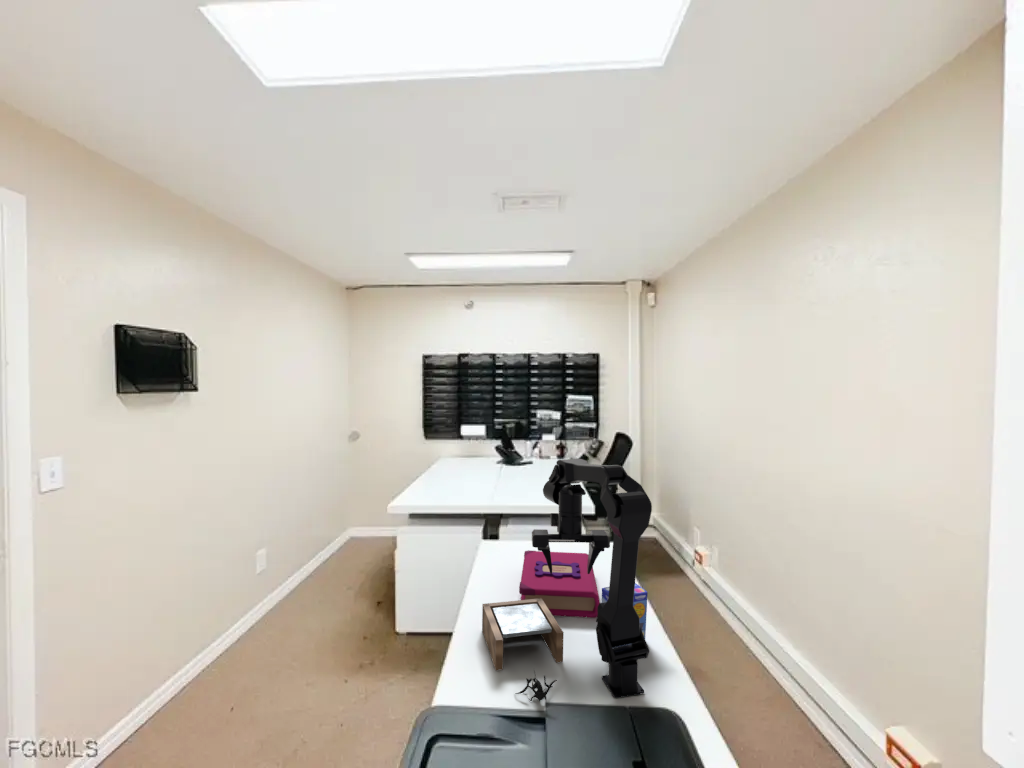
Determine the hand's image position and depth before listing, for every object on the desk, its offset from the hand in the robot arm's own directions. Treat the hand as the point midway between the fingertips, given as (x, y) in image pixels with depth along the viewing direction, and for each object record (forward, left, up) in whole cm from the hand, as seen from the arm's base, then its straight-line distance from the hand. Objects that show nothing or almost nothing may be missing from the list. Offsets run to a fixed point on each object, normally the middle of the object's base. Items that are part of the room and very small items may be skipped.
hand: (569, 573), depth 121 cm
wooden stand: (-5, +14, -14) cm, 20 cm away
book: (+20, -4, -14) cm, 25 cm away
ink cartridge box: (-7, -11, -14) cm, 19 cm away
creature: (-22, +15, -14) cm, 30 cm away
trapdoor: (-5, +14, -8) cm, 17 cm away
